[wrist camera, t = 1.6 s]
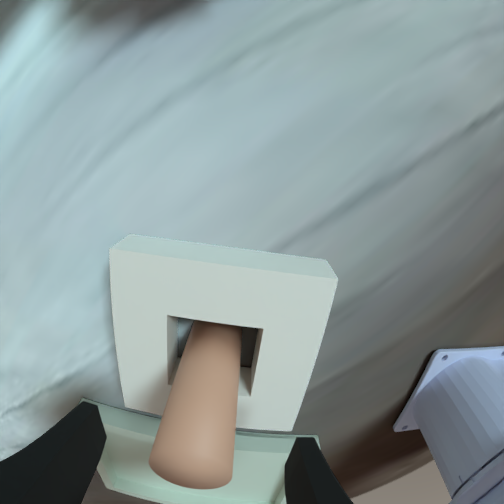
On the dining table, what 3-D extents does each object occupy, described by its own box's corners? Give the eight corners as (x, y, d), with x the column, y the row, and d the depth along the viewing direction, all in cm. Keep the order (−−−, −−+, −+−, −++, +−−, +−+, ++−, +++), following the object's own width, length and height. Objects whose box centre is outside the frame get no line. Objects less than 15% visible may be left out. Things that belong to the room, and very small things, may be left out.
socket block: (326, 259, 15) (338, 279, 13) (288, 403, 18) (291, 431, 16) (129, 233, 15) (109, 248, 12) (136, 381, 18) (125, 406, 15)
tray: (317, 435, 19) (321, 453, 18) (282, 502, 23) (282, 515, 22) (82, 397, 19) (73, 412, 17) (111, 475, 23) (106, 488, 21)
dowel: (245, 314, 16) (236, 457, 8) (239, 355, 17) (228, 493, 8) (193, 307, 16) (144, 441, 7) (190, 348, 17) (152, 480, 8)
